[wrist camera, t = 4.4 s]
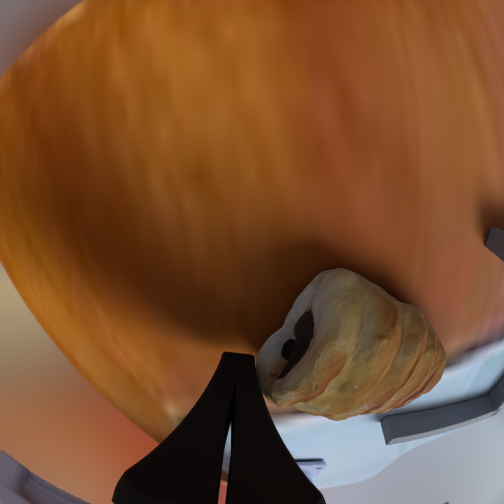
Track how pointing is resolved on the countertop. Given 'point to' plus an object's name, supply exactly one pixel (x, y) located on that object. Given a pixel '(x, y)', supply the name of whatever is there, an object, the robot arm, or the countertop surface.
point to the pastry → (349, 350)
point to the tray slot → (451, 415)
